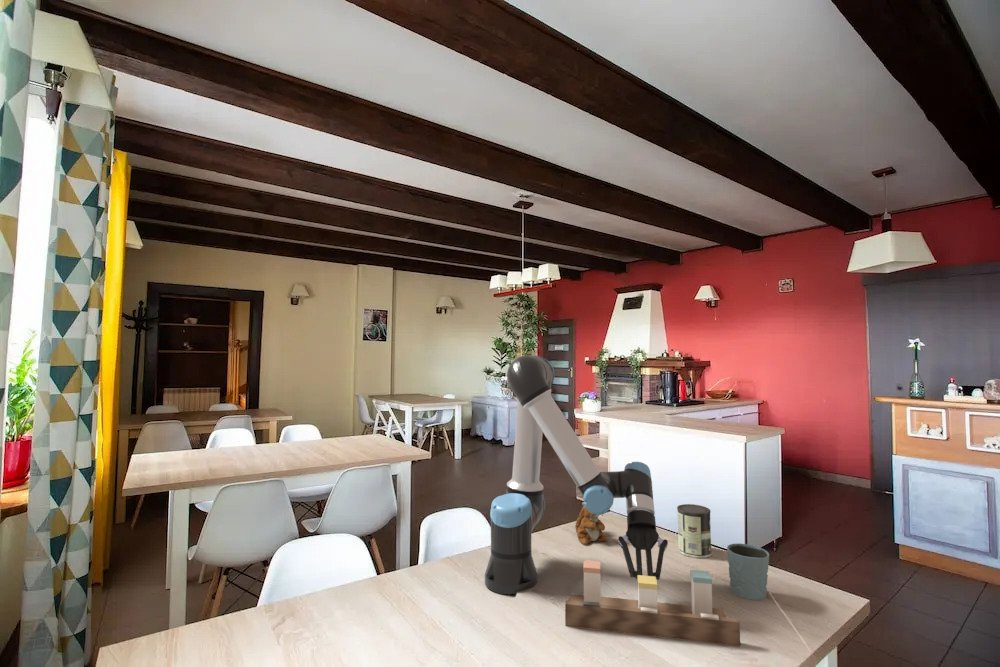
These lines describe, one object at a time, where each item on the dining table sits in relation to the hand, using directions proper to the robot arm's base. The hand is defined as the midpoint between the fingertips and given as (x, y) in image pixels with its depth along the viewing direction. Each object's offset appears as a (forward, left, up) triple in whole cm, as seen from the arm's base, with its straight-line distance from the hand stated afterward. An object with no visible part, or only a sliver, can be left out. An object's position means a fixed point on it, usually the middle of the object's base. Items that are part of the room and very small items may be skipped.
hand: (647, 607), depth 117 cm
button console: (0, 0, -4) cm, 4 cm away
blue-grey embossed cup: (+28, +19, -4) cm, 34 cm away
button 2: (+13, +2, -3) cm, 13 cm away
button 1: (-13, +2, -3) cm, 14 cm away
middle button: (0, -3, -3) cm, 4 cm away
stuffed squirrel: (-16, +53, -4) cm, 56 cm away
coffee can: (+19, +47, -4) cm, 51 cm away
